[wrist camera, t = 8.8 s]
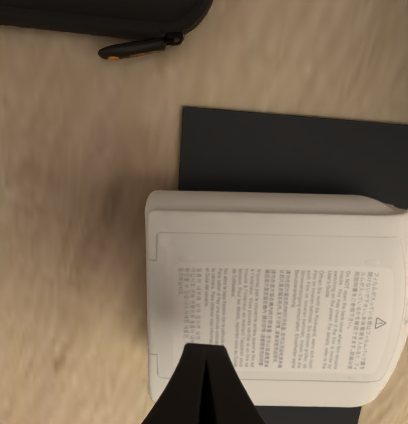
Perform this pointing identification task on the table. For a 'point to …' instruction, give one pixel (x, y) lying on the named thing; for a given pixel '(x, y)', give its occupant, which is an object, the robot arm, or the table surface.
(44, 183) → the table surface
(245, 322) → the photo printer
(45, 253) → the table surface
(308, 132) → the desk pad
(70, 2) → the carrying case
